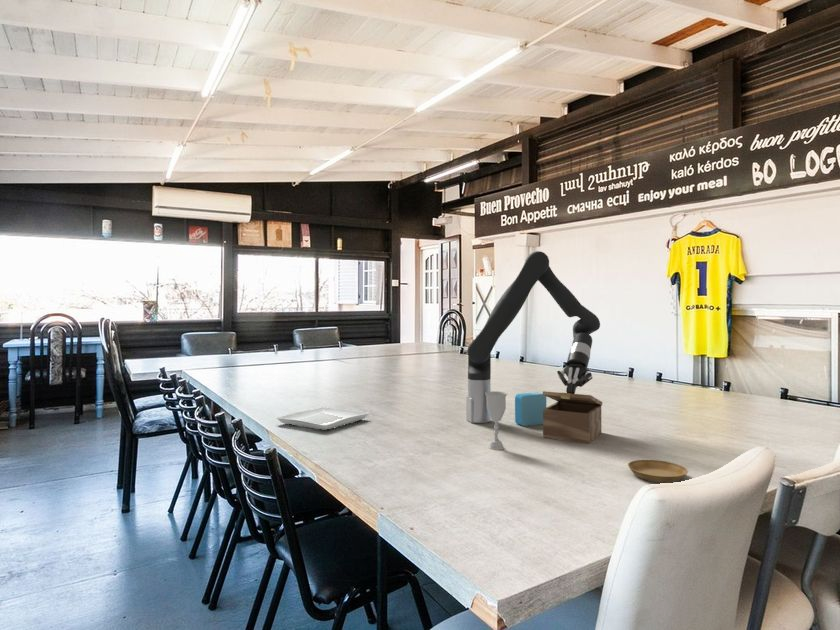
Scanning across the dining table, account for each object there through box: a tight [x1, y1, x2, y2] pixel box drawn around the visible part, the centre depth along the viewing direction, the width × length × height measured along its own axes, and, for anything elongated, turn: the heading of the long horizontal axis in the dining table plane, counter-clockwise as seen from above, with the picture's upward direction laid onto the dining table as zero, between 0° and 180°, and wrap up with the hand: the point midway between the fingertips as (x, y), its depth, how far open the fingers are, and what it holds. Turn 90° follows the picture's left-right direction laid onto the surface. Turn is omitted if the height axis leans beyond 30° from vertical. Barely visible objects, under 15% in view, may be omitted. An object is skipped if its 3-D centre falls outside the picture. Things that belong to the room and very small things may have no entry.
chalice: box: [485, 391, 508, 451], centre depth 166 cm, size 7×7×18 cm
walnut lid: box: [542, 390, 603, 406], centre depth 182 cm, size 19×17×2 cm
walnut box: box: [542, 401, 602, 444], centre depth 182 cm, size 18×16×10 cm
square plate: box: [275, 406, 371, 431], centre depth 205 cm, size 27×27×4 cm
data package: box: [514, 391, 547, 427], centre depth 200 cm, size 12×4×12 cm, turn 112°
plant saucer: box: [627, 459, 689, 484], centre depth 137 cm, size 15×15×3 cm
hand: (570, 394), depth 179 cm, fingers closed
